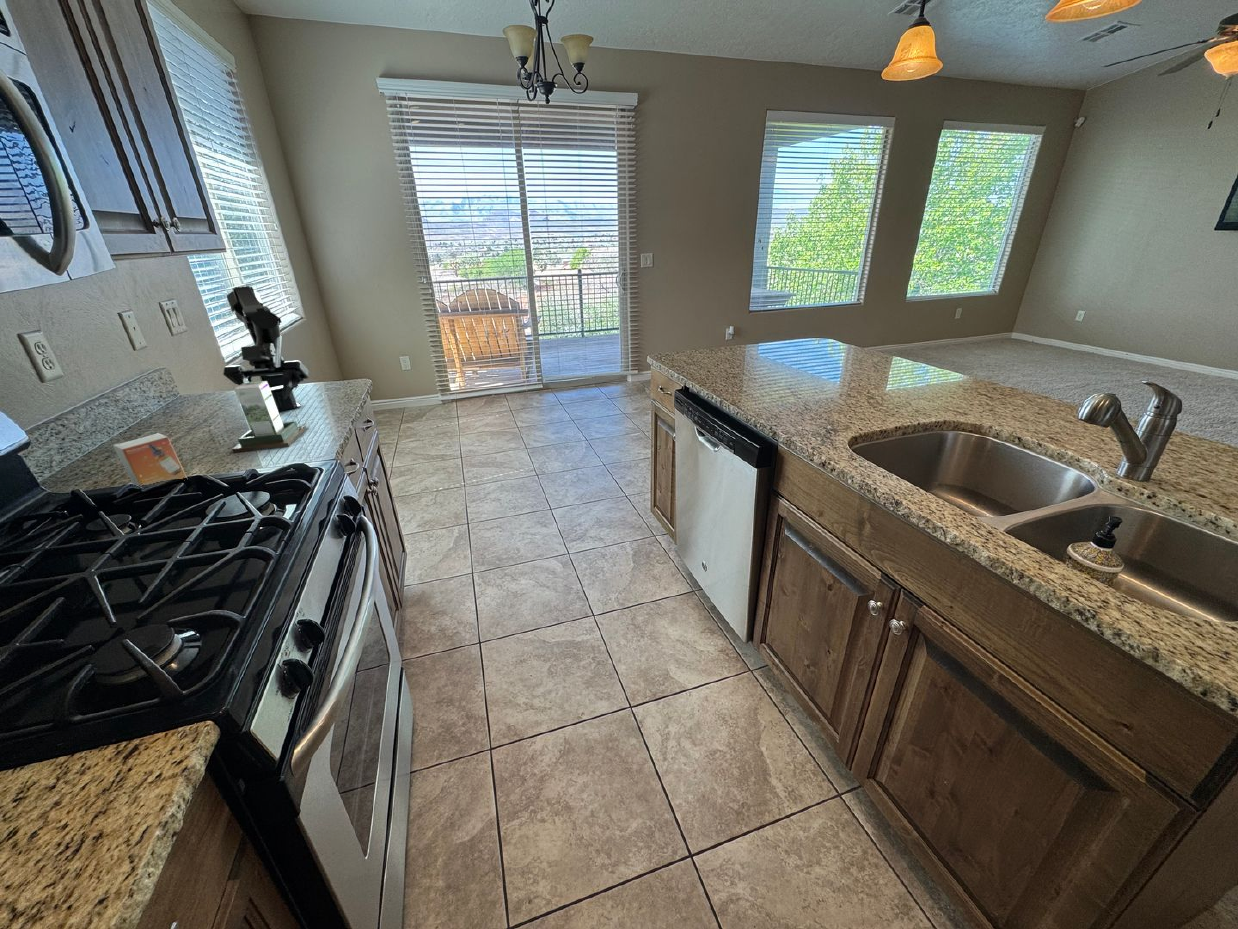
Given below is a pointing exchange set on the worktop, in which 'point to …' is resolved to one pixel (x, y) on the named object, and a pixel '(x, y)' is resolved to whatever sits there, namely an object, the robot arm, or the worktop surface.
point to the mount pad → (270, 439)
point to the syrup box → (259, 408)
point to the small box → (150, 460)
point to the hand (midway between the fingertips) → (265, 399)
